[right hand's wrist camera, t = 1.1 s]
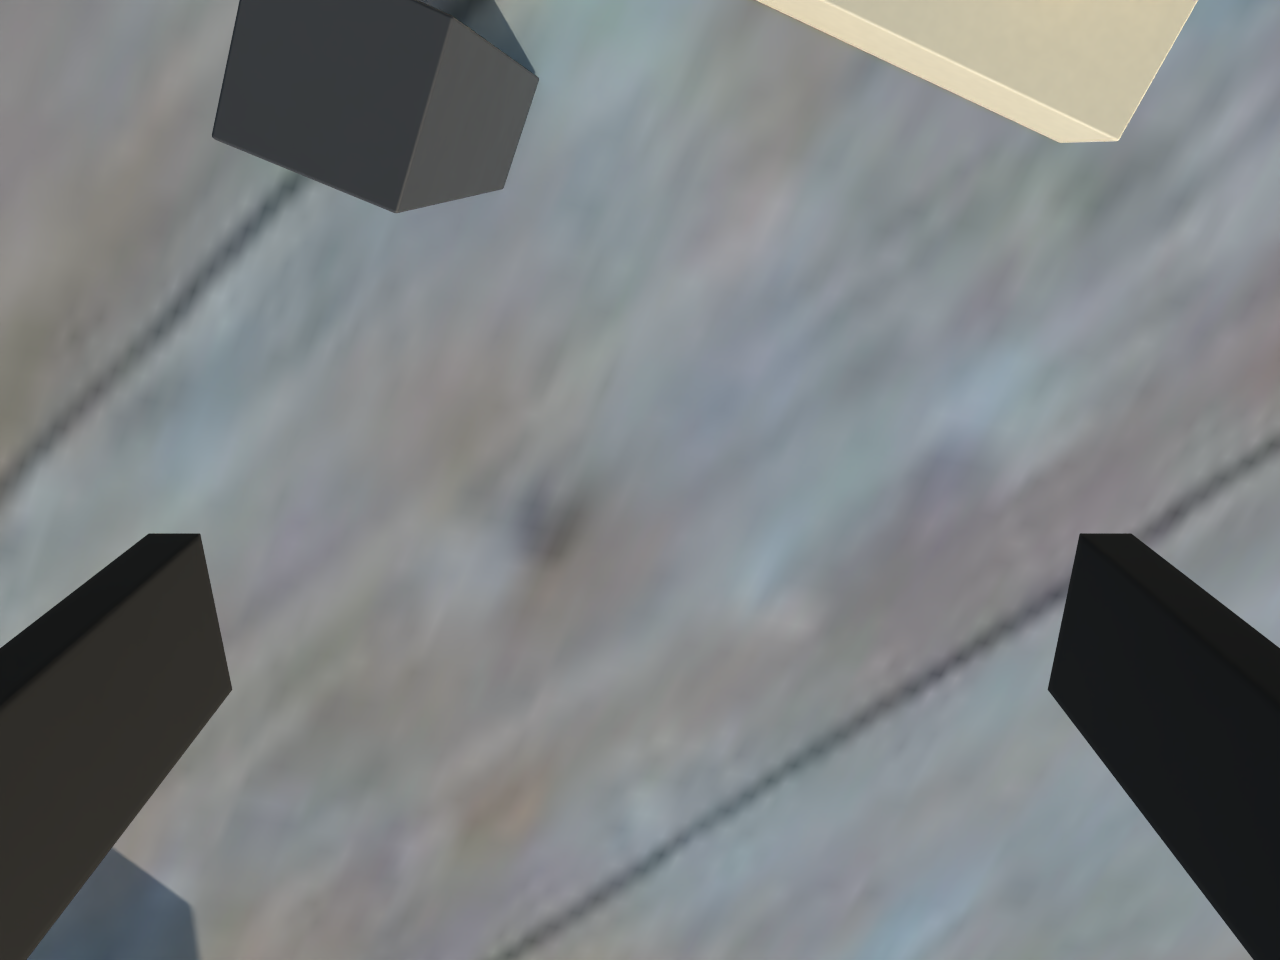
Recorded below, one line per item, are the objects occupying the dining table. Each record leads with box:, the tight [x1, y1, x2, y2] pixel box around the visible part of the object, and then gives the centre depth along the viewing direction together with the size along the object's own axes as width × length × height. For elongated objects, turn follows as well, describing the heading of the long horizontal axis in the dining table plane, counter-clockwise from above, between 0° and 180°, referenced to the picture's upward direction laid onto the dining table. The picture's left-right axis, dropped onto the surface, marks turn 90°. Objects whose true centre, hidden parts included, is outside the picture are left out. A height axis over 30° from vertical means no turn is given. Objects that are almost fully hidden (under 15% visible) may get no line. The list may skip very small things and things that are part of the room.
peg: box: [212, 0, 539, 213], centre depth 23 cm, size 4×4×14 cm
